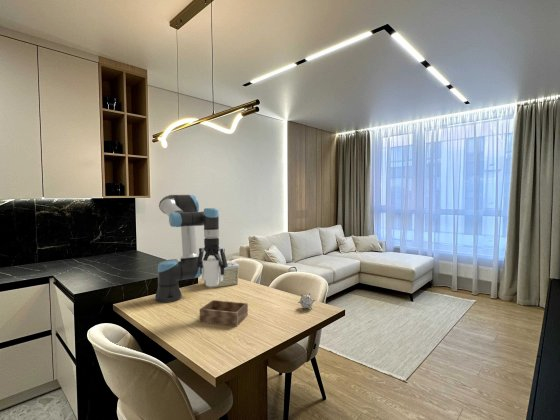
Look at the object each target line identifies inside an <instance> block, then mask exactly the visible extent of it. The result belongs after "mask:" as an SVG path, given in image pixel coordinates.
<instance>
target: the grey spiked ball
mask: <svg viewBox="0 0 560 420" xmlns="http://www.w3.org/2000/svg"><path fill="white" fill-rule="evenodd" d="M300 295H301V298H300V299H299V301H298V302H297V304H300V306H301V307H302V310H303V311H304V310H305V309H311V310H312V309H313V308H312V306H313V304H314V302H316V300H314V299H313V298H312V296H311V293H308V294H300Z"/></svg>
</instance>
